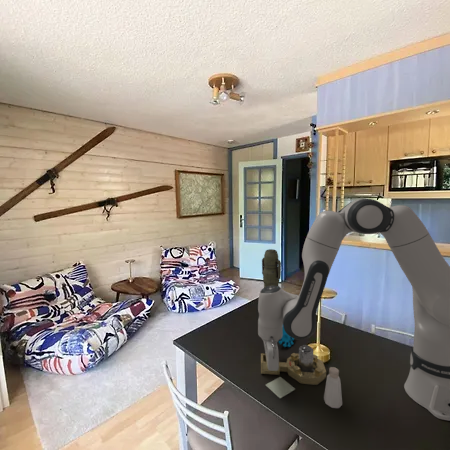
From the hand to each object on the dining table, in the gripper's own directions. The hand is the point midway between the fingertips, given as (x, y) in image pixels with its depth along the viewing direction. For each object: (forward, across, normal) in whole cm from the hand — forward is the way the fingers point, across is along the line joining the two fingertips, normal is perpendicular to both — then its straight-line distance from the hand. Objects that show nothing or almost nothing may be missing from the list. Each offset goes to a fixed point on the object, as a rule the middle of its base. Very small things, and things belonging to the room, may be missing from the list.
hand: (269, 365), depth 95 cm
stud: (+2, 0, -13) cm, 13 cm away
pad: (+2, -8, -2) cm, 9 cm away
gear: (+3, +18, -9) cm, 20 cm away
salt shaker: (+2, -14, -18) cm, 23 cm away
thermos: (+2, +48, -6) cm, 49 cm away
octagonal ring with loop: (+2, 0, -8) cm, 8 cm away
